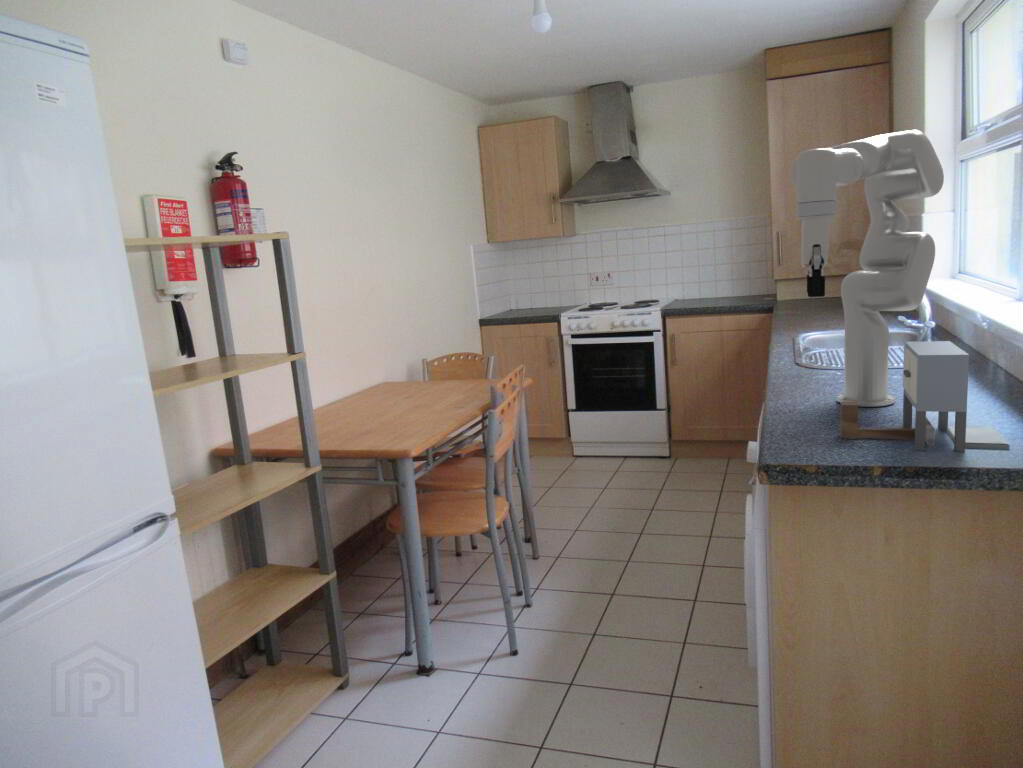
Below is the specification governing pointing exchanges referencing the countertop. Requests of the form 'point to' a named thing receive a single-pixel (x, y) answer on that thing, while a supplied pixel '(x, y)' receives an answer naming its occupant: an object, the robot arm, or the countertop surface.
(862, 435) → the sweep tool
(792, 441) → the countertop surface
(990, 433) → the hard drive
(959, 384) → the cabinet
